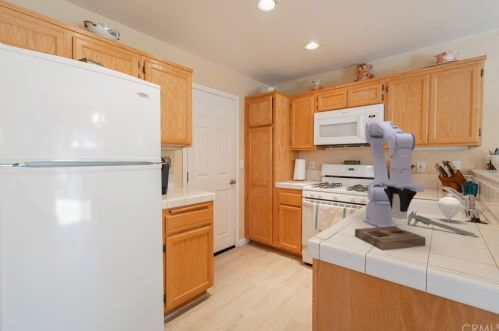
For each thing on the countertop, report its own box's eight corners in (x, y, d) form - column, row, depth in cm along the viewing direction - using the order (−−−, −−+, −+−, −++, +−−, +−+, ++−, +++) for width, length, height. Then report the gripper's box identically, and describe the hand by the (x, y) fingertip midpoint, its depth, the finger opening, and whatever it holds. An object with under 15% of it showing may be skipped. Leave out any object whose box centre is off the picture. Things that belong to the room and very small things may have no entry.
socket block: (354, 236, 77) (355, 228, 77) (392, 232, 81) (392, 225, 81) (383, 250, 66) (383, 241, 65) (425, 245, 69) (425, 237, 69)
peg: (391, 216, 75) (392, 193, 75) (399, 216, 76) (399, 193, 75) (399, 219, 72) (400, 195, 72) (407, 218, 73) (407, 194, 72)
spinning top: (466, 224, 91) (467, 195, 91) (448, 224, 91) (449, 195, 91) (449, 219, 99) (450, 192, 99) (432, 219, 99) (433, 192, 98)
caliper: (407, 225, 90) (408, 210, 90) (408, 225, 91) (408, 209, 91) (479, 238, 76) (480, 220, 76) (479, 237, 77) (480, 219, 77)
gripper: (373, 168, 79) (372, 206, 80) (411, 171, 65) (409, 216, 66) (389, 168, 81) (388, 205, 82) (429, 171, 67) (428, 215, 67)
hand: (399, 210), depth 74 cm, fingers closed on peg, 3 cm apart
